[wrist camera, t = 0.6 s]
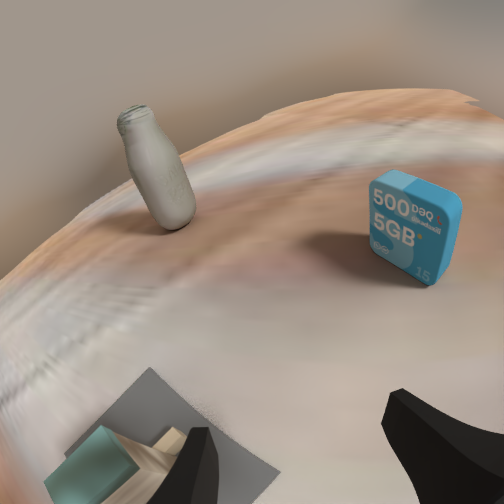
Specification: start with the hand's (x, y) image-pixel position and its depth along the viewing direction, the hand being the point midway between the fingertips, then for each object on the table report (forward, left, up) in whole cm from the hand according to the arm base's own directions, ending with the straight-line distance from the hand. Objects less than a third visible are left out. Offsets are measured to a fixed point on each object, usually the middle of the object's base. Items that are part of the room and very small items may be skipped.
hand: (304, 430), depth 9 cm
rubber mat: (+3, +18, -17) cm, 25 cm away
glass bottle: (+52, +9, -17) cm, 55 cm away
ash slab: (0, +16, -16) cm, 23 cm away
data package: (+18, -22, -17) cm, 33 cm away
